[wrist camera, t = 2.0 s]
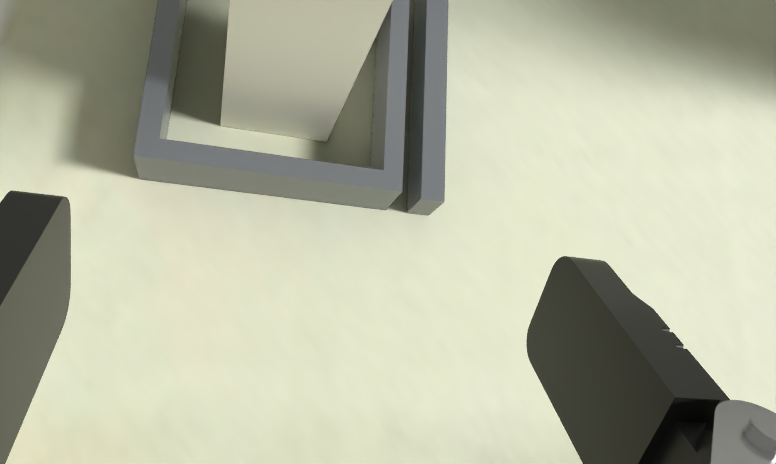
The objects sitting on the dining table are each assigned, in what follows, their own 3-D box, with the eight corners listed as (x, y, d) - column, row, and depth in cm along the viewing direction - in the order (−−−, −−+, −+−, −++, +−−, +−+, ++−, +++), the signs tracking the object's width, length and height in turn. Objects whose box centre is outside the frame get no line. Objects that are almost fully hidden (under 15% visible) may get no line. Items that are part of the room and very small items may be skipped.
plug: (232, 31, 29) (253, -212, 18) (333, 50, 30) (413, -168, 19) (220, 125, 28) (235, -72, 16) (326, 141, 29) (408, -34, 17)
